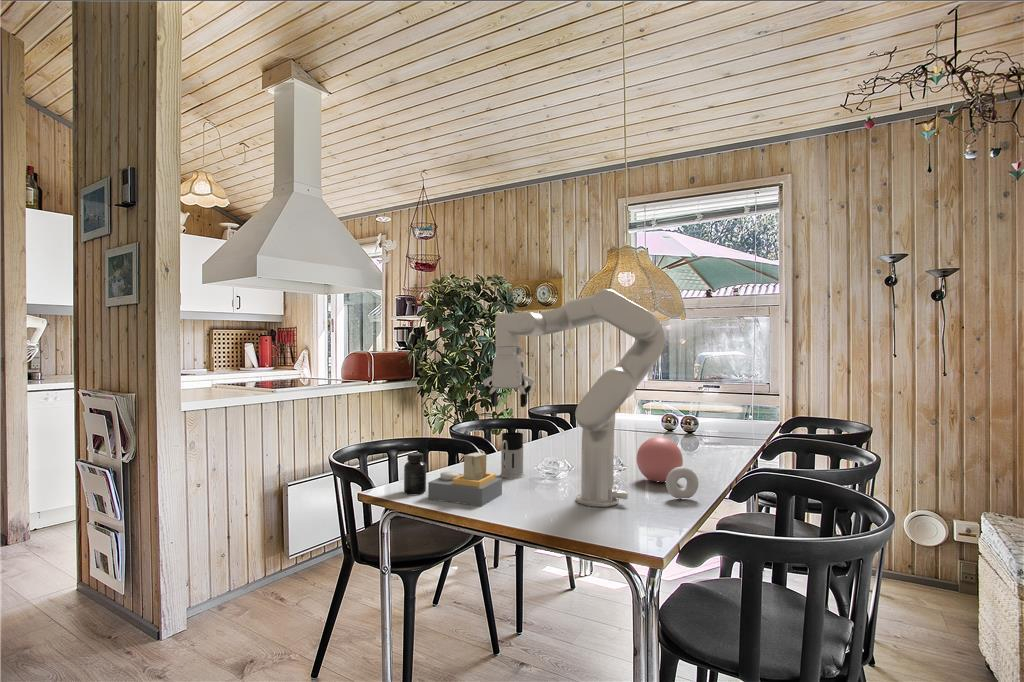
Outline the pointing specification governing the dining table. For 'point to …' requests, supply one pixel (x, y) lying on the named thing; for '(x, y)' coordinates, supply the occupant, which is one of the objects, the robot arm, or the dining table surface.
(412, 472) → the supplement bottle
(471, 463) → the skincare box
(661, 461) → the pink ellipsoid
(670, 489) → the donut
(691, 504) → the dining table surface
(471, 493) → the grey rectangular block
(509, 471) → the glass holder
